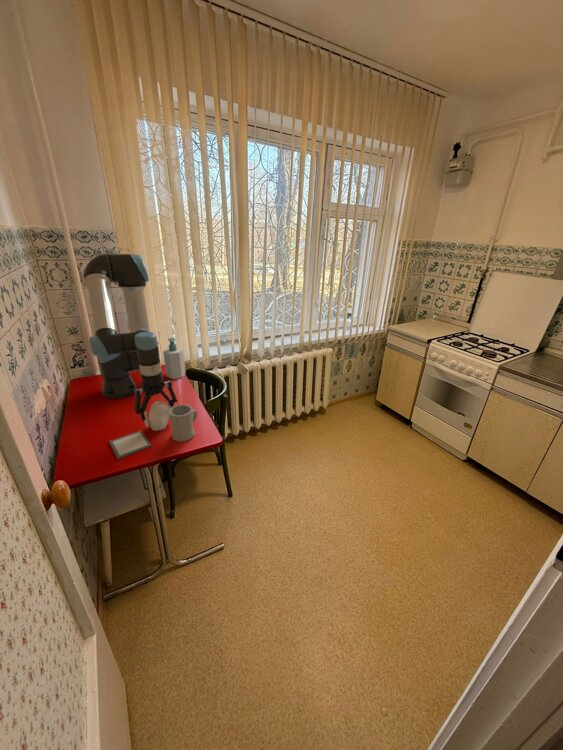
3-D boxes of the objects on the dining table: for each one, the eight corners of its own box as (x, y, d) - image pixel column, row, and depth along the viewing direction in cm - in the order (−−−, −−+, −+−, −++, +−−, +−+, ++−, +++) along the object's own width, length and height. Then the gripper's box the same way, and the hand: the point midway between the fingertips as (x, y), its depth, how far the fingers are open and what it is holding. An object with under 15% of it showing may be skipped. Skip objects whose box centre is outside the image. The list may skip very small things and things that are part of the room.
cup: (177, 426, 127) (174, 401, 122) (199, 427, 127) (197, 402, 122) (168, 441, 118) (164, 415, 113) (191, 442, 118) (188, 416, 113)
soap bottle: (167, 380, 166) (162, 342, 156) (165, 373, 173) (160, 337, 164) (186, 377, 170) (182, 340, 160) (184, 371, 177) (180, 335, 168)
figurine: (163, 433, 123) (159, 407, 118) (146, 430, 124) (142, 405, 119) (172, 423, 129) (169, 399, 124) (156, 420, 130) (152, 396, 125)
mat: (109, 442, 116) (109, 441, 116) (141, 431, 123) (141, 430, 123) (117, 459, 108) (117, 458, 107) (151, 446, 115) (151, 445, 114)
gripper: (123, 383, 107) (134, 435, 116) (182, 369, 120) (187, 417, 129) (117, 376, 112) (128, 426, 121) (175, 363, 125) (180, 409, 134)
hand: (159, 421), depth 125 cm, fingers open, 9 cm apart
